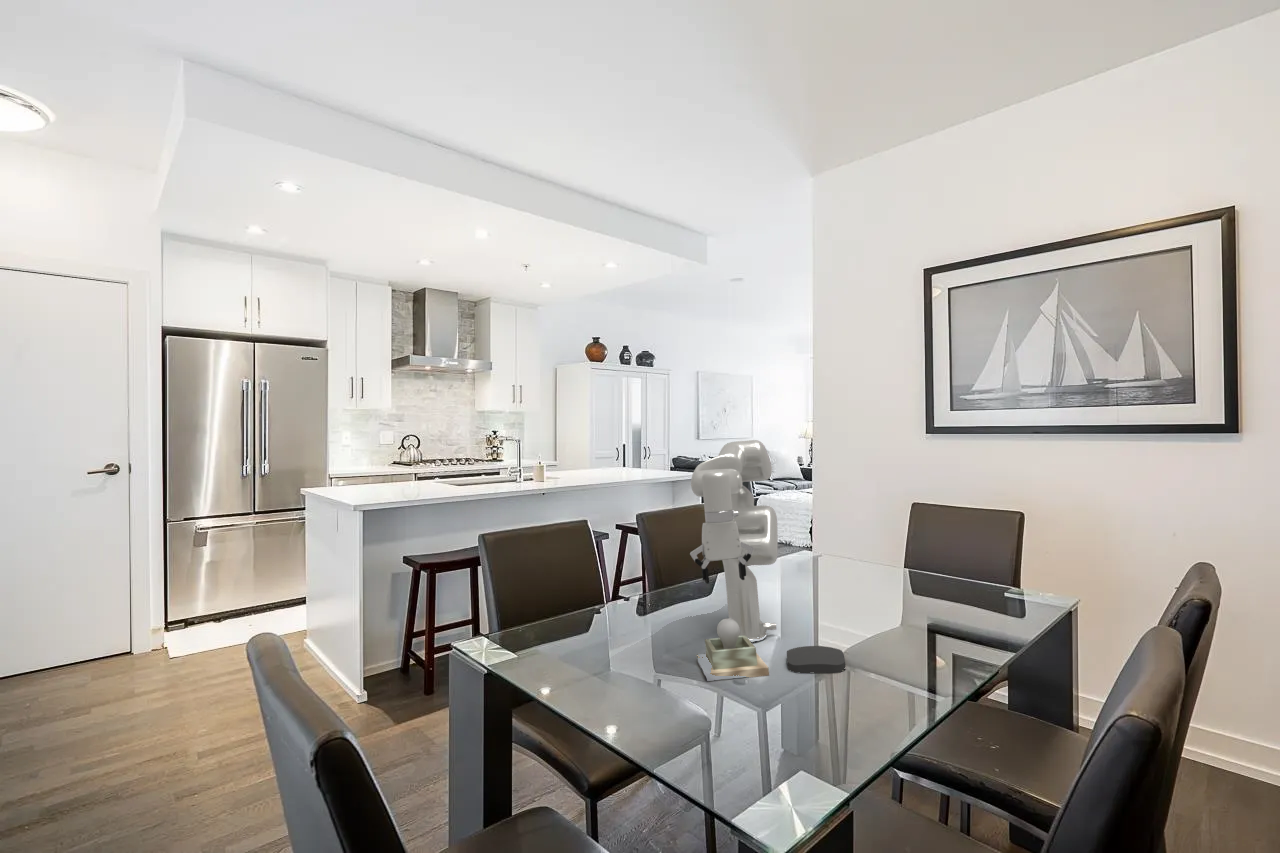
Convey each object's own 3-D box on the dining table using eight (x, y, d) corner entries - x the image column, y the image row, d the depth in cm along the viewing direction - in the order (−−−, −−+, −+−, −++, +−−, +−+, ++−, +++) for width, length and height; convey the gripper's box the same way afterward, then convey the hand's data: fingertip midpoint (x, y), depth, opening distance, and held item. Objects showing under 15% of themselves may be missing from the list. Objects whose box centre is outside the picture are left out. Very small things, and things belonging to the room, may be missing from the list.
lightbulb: (724, 665, 162) (721, 623, 162) (715, 658, 168) (712, 617, 168) (745, 661, 164) (742, 620, 164) (736, 655, 169) (733, 614, 170)
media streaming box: (847, 674, 155) (846, 662, 156) (788, 674, 158) (787, 663, 158) (841, 655, 170) (840, 644, 170) (786, 656, 173) (785, 645, 173)
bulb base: (753, 655, 174) (751, 632, 174) (769, 675, 158) (766, 649, 158) (697, 661, 173) (695, 637, 173) (707, 681, 157) (705, 655, 157)
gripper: (747, 513, 172) (752, 574, 171) (685, 518, 171) (690, 581, 170) (753, 515, 164) (759, 580, 164) (689, 521, 163) (695, 587, 163)
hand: (724, 580), depth 167 cm, fingers open, 9 cm apart
